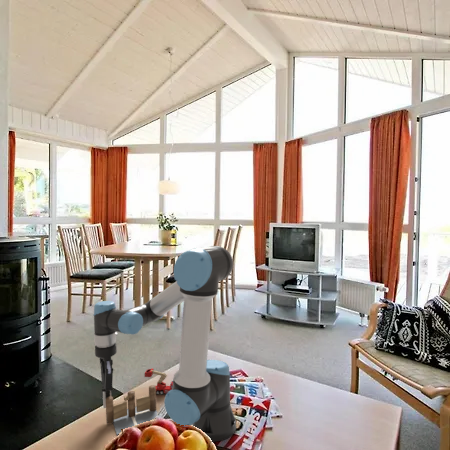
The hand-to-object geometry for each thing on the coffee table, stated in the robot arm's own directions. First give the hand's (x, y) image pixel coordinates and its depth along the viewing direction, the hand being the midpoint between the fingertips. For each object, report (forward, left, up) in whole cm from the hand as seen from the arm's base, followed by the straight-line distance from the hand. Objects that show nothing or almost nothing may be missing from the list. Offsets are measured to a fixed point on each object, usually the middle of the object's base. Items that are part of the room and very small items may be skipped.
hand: (107, 406), depth 130 cm
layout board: (-5, -9, -5) cm, 11 cm away
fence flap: (-3, -4, -4) cm, 7 cm away
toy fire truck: (+9, -23, -5) cm, 26 cm away
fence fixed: (-3, -12, -5) cm, 13 cm away
